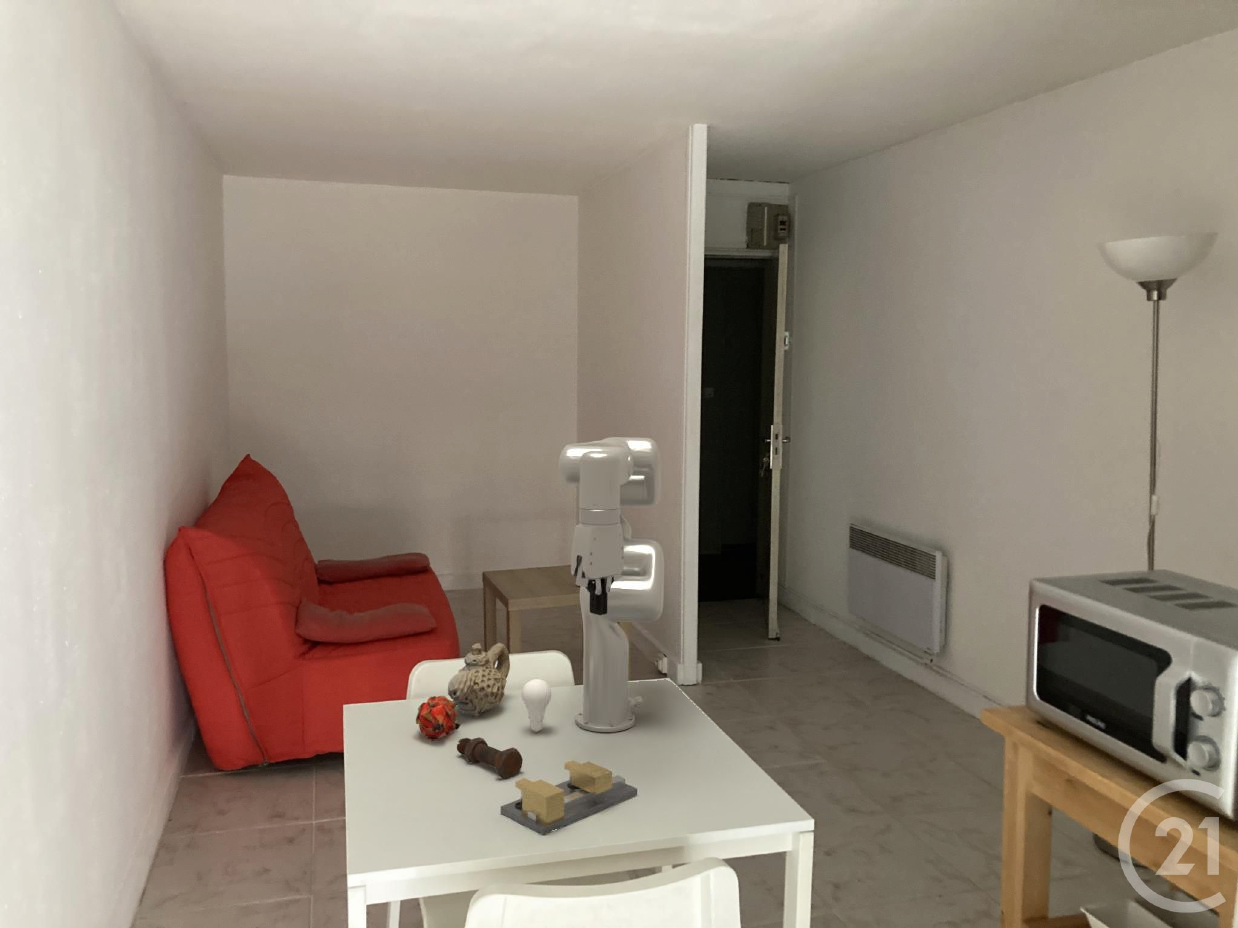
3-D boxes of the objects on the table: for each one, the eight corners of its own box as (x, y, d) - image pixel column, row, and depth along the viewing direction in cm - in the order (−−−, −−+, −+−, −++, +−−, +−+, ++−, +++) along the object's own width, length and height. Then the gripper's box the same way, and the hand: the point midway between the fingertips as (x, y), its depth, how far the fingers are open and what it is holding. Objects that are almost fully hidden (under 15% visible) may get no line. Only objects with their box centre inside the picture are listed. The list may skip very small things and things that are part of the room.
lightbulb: (556, 729, 212) (556, 677, 210) (542, 738, 206) (542, 686, 205) (530, 724, 214) (531, 673, 213) (516, 733, 209) (516, 681, 207)
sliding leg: (576, 778, 183) (576, 756, 182) (612, 793, 176) (612, 771, 176) (560, 784, 180) (560, 762, 179) (595, 800, 174) (595, 777, 173)
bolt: (465, 762, 198) (515, 783, 188) (447, 756, 195) (496, 776, 185) (477, 733, 200) (527, 752, 190) (458, 726, 197) (508, 745, 186)
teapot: (474, 731, 210) (473, 660, 208) (427, 721, 215) (427, 652, 213) (526, 700, 229) (527, 634, 228) (483, 692, 234) (483, 628, 232)
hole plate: (594, 776, 188) (594, 745, 187) (637, 794, 180) (637, 762, 180) (500, 813, 172) (500, 779, 172) (543, 835, 165) (543, 800, 164)
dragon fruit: (440, 730, 214) (441, 760, 203) (407, 710, 212) (406, 740, 200) (465, 699, 213) (467, 728, 202) (431, 679, 211) (432, 707, 199)
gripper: (613, 510, 198) (612, 603, 200) (556, 518, 187) (555, 616, 189) (641, 515, 192) (640, 610, 194) (584, 523, 182) (583, 624, 184)
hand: (598, 613), depth 192 cm, fingers closed
